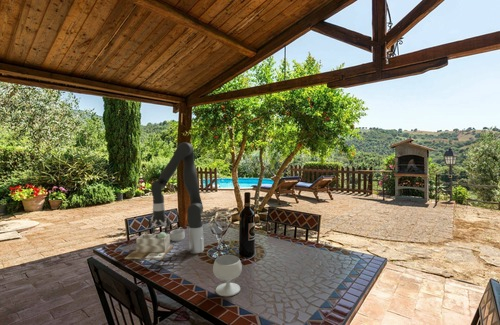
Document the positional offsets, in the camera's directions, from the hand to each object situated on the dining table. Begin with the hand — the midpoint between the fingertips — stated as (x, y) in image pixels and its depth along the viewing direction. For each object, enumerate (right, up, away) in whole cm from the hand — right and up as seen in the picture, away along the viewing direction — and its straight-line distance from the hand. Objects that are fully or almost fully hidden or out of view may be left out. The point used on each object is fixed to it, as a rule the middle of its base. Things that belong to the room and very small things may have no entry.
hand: (159, 232), depth 172 cm
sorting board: (-5, -13, -4) cm, 15 cm away
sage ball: (-1, -5, 0) cm, 5 cm away
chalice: (+52, -14, -50) cm, 74 cm away
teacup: (+6, -13, +22) cm, 26 cm away
